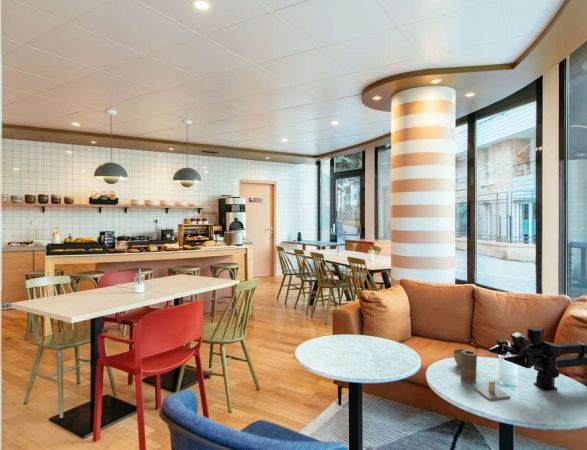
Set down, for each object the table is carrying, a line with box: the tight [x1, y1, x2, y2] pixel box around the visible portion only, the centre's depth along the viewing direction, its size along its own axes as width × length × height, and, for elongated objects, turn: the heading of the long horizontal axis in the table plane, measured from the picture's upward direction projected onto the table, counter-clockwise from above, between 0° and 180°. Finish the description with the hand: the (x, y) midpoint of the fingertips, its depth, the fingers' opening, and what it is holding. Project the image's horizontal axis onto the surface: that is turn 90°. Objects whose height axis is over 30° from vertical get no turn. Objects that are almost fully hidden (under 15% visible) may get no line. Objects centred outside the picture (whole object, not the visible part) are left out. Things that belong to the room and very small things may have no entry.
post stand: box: [473, 379, 511, 401], centre depth 168 cm, size 10×10×5 cm
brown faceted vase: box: [460, 349, 478, 384], centre depth 180 cm, size 6×6×13 cm
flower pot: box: [452, 348, 467, 368], centre depth 195 cm, size 10×10×7 cm
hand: (496, 354), depth 169 cm, fingers open, 9 cm apart
